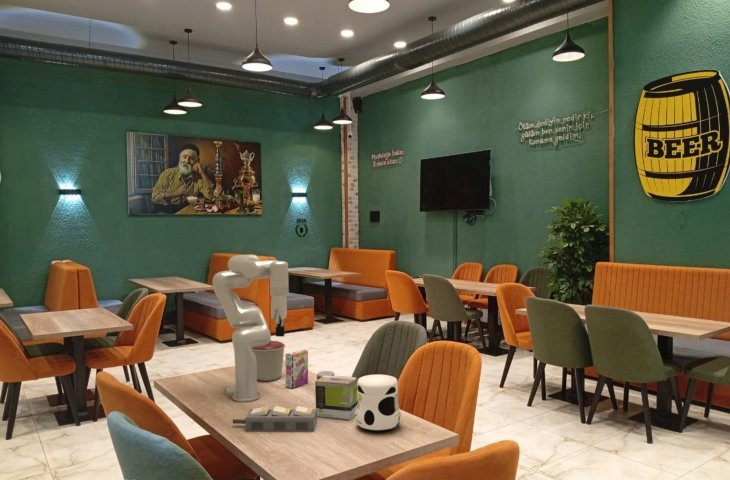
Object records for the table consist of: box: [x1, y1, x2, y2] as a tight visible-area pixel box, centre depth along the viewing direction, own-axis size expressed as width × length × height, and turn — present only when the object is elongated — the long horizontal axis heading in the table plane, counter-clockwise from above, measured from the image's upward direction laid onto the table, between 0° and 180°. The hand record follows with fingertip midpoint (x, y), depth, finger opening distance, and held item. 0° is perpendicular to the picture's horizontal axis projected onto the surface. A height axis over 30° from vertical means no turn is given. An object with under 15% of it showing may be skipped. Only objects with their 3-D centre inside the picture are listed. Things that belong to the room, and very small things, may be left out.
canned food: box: [316, 370, 335, 380], centre depth 241 cm, size 8×8×11 cm
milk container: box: [354, 374, 401, 432], centre depth 206 cm, size 17×17×18 cm
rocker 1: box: [250, 405, 270, 416], centre depth 208 cm, size 6×5×2 cm
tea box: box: [314, 375, 358, 421], centre depth 220 cm, size 15×10×15 cm
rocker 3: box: [295, 405, 314, 416], centre depth 207 cm, size 6×5×2 cm
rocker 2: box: [272, 405, 292, 416], centre depth 207 cm, size 6×5×2 cm
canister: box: [251, 339, 286, 382], centre depth 272 cm, size 18×18×21 cm
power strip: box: [232, 408, 318, 432], centre depth 207 cm, size 32×9×5 cm, turn 87°
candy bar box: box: [285, 349, 309, 390], centre depth 260 cm, size 11×5×16 cm, turn 144°
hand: (280, 335), depth 221 cm, fingers closed
